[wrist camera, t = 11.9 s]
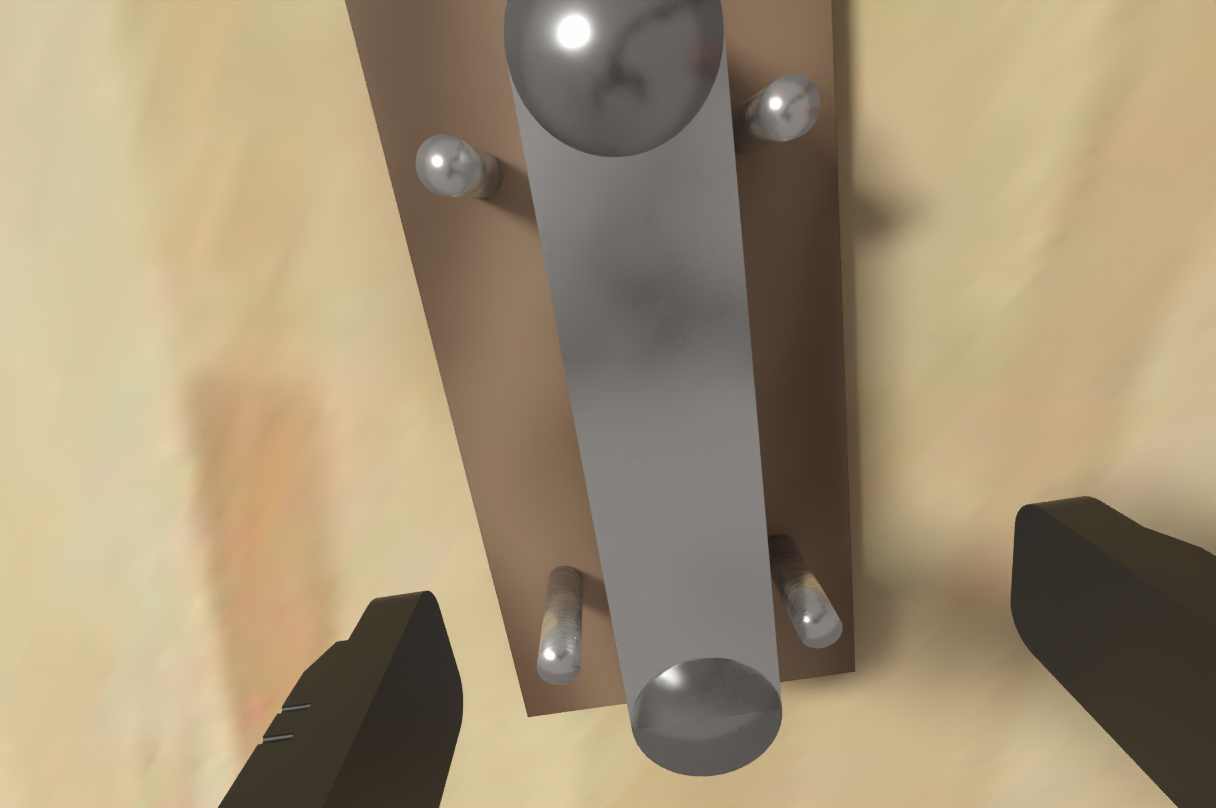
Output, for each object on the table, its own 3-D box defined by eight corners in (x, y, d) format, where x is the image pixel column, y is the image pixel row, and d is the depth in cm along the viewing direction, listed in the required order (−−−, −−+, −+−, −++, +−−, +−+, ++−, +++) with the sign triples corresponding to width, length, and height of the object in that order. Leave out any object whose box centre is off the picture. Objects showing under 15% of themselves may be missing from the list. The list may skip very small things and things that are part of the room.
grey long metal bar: (675, -14, 15) (712, -114, 10) (744, 640, 21) (786, 765, 17) (517, 13, 15) (481, -72, 10) (632, 656, 21) (642, 785, 17)
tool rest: (809, -114, 15) (909, -262, 11) (842, 648, 23) (909, 769, 18) (351, -31, 16) (241, -136, 11) (531, 692, 23) (514, 822, 18)
